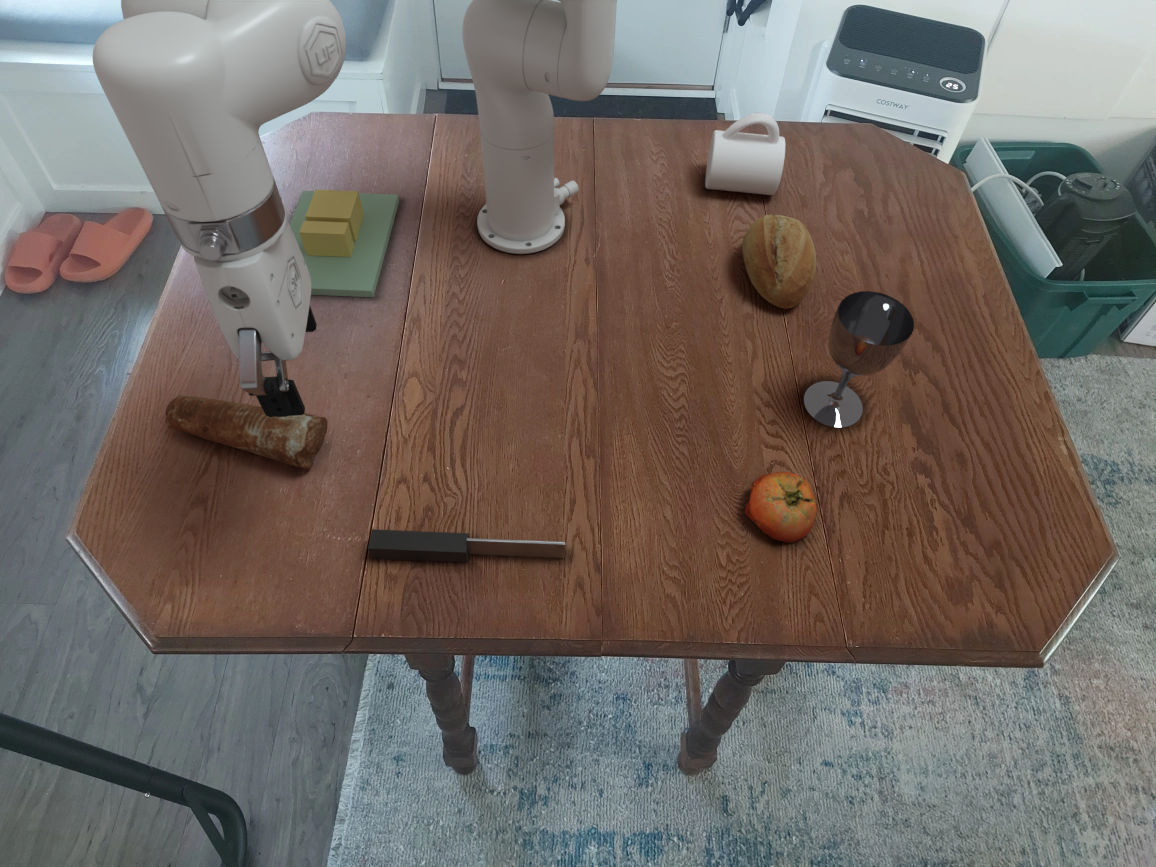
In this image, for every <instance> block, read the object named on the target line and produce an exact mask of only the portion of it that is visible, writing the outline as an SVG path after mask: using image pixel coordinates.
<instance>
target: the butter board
mask: <svg viewBox="0 0 1156 867" xmlns="http://www.w3.org/2000/svg"><path fill="white" fill-rule="evenodd" d="M399 204H400V198H399V194H390V193H389V194H387V193H366V192H362V193H361V192H359V190H337V189H314V190H302V191H301V195H300V197H299V199H298V202H297V204H296V207H295V210H294V211H293V214H292V218H291V219H290V220H291V221H290V222H289V224H290V226H291V229H292V231H293V233H294V236H295V238H296V241H297V243H298V246H299V248H300V251H301V253H302V256H303V258H304V261H305V263H306V266H307V268H308V271H309V274H310V277H311V296H330V297H331V296H333V297H352V298H353V297H354V298H355V297H356V298H358V297H359V298H374V297H375V294H376V290H377V285H378V282H379V278H380V275H381V270H382V268H383V264H384V260H385V256H386V252H387V249H388V245H389V242H390V241H389V240H390V237H391V233H392V230H393V227H394V223H395V218H396V214H397V211H398V208H399ZM303 221H323V222H347V223H348V224H349V228H350V231H351V235H352V238H353V242H354V249H353V252H352V256H351V257H332V256H308V255H307V253H306V250H305V248H304V245H303V242H302V239H301V236H300V233H299V232H300V229H301V226H302V223H303Z"/></svg>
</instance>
